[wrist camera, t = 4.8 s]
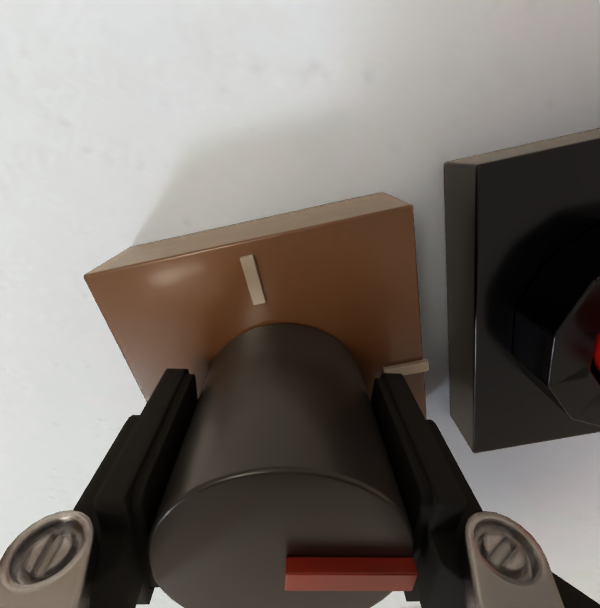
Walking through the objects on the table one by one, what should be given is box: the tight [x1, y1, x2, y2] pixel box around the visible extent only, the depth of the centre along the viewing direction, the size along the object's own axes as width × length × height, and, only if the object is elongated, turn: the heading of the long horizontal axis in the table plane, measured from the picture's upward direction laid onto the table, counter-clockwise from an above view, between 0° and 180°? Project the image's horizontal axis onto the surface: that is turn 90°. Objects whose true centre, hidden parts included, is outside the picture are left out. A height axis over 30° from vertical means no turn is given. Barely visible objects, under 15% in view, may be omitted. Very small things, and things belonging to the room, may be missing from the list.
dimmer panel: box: [84, 192, 429, 420], centre depth 12 cm, size 10×9×3 cm
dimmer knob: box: [147, 323, 418, 608], centre depth 8 cm, size 5×5×5 cm
